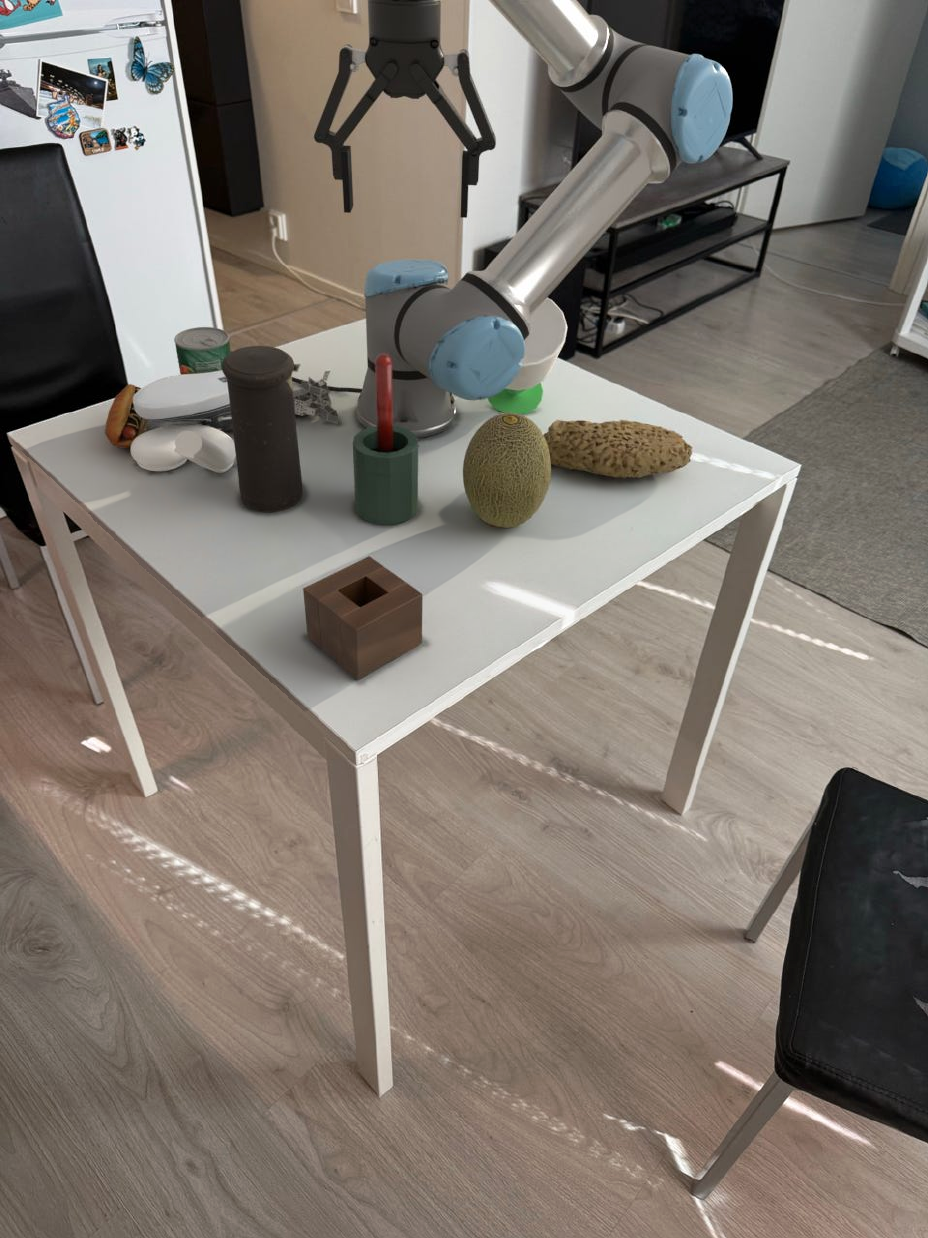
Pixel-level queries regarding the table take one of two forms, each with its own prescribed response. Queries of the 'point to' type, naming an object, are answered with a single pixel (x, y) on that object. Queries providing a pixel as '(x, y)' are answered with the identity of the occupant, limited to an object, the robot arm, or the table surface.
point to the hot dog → (124, 419)
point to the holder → (363, 616)
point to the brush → (384, 403)
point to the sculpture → (184, 448)
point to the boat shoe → (187, 400)
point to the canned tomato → (201, 349)
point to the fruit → (507, 470)
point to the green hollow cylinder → (386, 477)
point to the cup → (534, 361)
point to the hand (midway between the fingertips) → (406, 211)
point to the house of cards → (314, 398)
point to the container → (264, 427)
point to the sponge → (616, 448)
